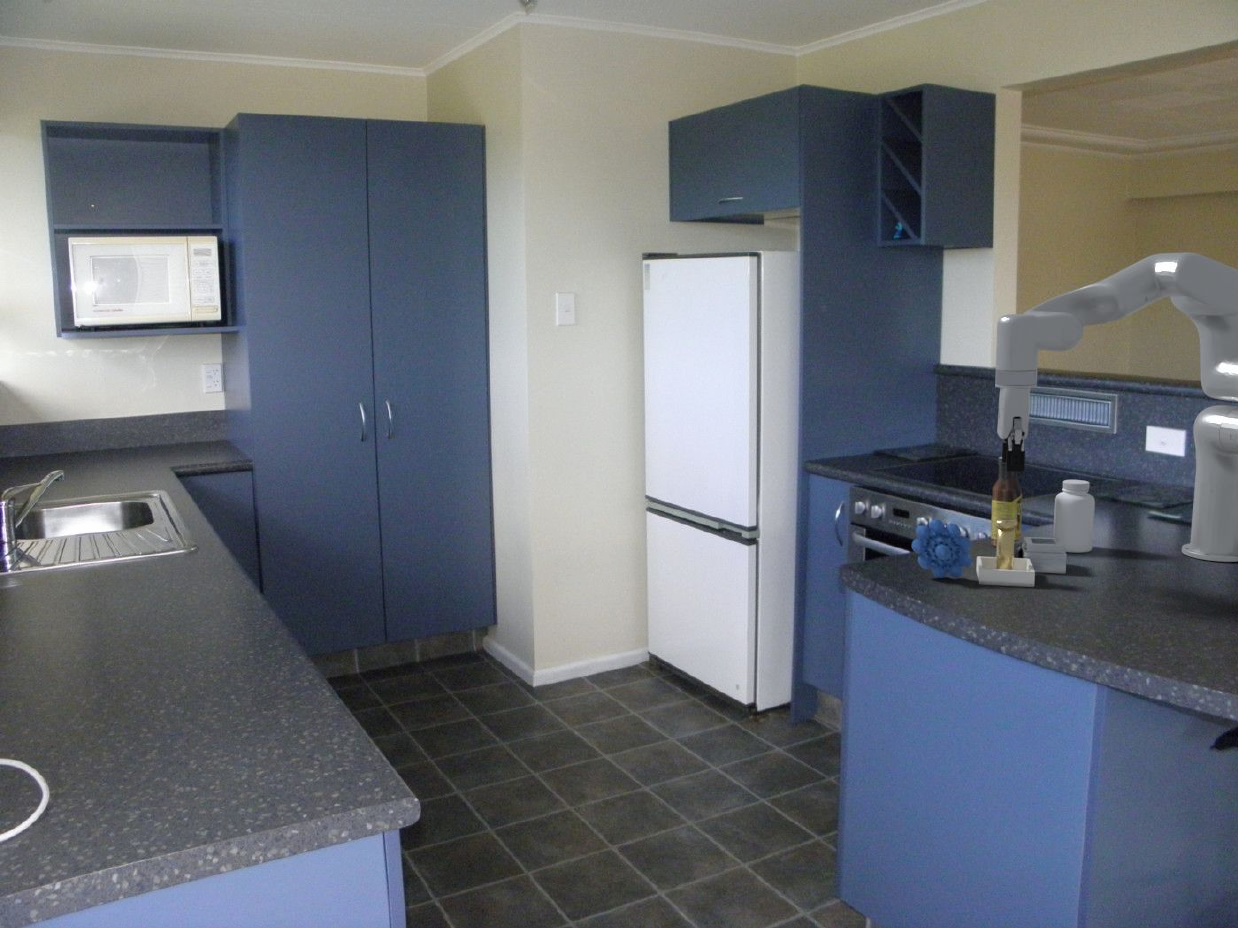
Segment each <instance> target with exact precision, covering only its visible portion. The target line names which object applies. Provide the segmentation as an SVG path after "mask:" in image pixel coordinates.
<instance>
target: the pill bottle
mask: <svg viewBox="0 0 1238 928" xmlns="http://www.w3.org/2000/svg"><path fill="white" fill-rule="evenodd" d="M1089 489H1090V482H1089V481H1086V480H1081V479H1065V480H1063V481H1062V489H1061V490H1062V491H1061V492H1060V493H1058V494H1057V495H1056V496H1055V499H1054V511H1053V512H1054V514H1053V515H1054V516H1053V517H1054V518H1053V532H1052V533H1053V537H1052V538H1059V539H1060V541H1061V543H1062V545H1063V549H1064V550H1065V552H1066V553H1074V554H1075V553H1076V554H1078V553H1079V554H1083V553H1088V552H1091V551H1092V550H1093V544H1094V543H1093V542H1094V524H1095V523H1094V522H1095V509H1096V507H1095V506H1096V501H1095V498H1094V496H1093V495H1092V494H1091V493H1088V492H1089Z"/></svg>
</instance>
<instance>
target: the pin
mask: <svg viewBox="0 0 1238 928" xmlns="http://www.w3.org/2000/svg"><path fill="white" fill-rule="evenodd" d="M995 526H996V527H997V562H996V569H1001V570H1014V536H1015V528H1016V527H1017V520H1016V519H1012V518H998V519H996V520H995Z"/></svg>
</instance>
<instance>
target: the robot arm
mask: <svg viewBox="0 0 1238 928" xmlns="http://www.w3.org/2000/svg"><path fill="white" fill-rule="evenodd" d="M1169 297H1170V301H1171V303H1172V305H1173V306H1174V308H1176V309H1177V310H1178V311H1180V312H1181V313H1183V314H1185V316H1186V317H1188V318H1189V319H1190V320H1191V321H1192V323H1193V324H1194V325H1195V327H1196V329H1197V332H1198V335H1199V355H1200V363H1199V364H1200V365H1199V366H1200V385H1201V388H1202V391H1203V393H1204V394H1205V395H1206V396H1207V397H1209V398H1211V399H1216V400H1220V401H1221V400H1222V401H1227V402H1228V401H1229V402H1237V403H1238V269H1236V268H1234V267H1232V266H1229V265H1226V264H1225V263H1223V262H1220V261H1218V260H1215V259H1213V258H1210V257H1208V256H1205V255H1202V254H1199V253H1196V252H1190V251H1189V252H1188V251H1187V252H1163V253H1155V254H1151V255H1149V256H1147V257H1145V258H1142V259H1140V260H1138V261H1137V262H1135V263H1133V264H1131V265H1129V266H1127V267H1125V268H1123V269H1121V270H1119V271H1118V272H1115V273H1113V274H1112V275H1110V276H1108V277H1106V278H1104V279H1102V280H1100V281H1097V282H1094V283H1090V284H1088V285H1085V286H1082V287H1080V288H1078V289H1074V290H1071V291H1069V292H1066V293H1063V294H1059V295H1056V296H1053V297H1052V298H1050V299H1048V300H1046V301H1043V302H1042V303H1039V304H1038V305H1036V306H1033V307H1032V308H1030V309H1028V310H1026V311H1024V312H1023V313H1022V314H1021V313H1016V314H1015V313H1014V314H1004V315H1001V316H1000V317H999V318H998V319H997V324H996V349H995V351H996V352H995V356H996V357H995V379H994V381H995V382H994V384H995V385H994V387H995V388H998V389H999V388H1000V389H999V398H998V414H997V430H996V432H997V435H998V437H999V438H1000V439H1001V440H1003V442H1002V444H1001V445H1002V446H1001V448H1002V449H1001V457H1002V462H1003V463H1006V470H1007V471H1013V472H1017V473H1018V472H1025V465H1026V464H1025V462H1026V461H1025V459H1026V450H1025V440H1026V439H1027V438H1028V436H1029V435H1028V434H1029V423H1030V422H1029V421H1030V404H1031V402H1030V401H1031V389H1034V388H1037V385H1038V366H1039V365H1038V361H1039V360H1038V359H1039V351H1046V352H1057V353H1062V352H1067V351H1070V350H1073V349H1074V348H1076V347H1077V346H1078V345H1079V344H1080V343H1081V342H1082V340H1083V338H1084V335H1085V327H1087V326H1096V325H1103V324H1109V323H1114V322H1118V321H1120V320H1123V319H1125V318H1128V317H1129V316H1130V315H1132V314H1134V313H1136V312H1138V311H1140V310H1143V308H1145V307H1148V306H1149V305H1152V304H1154V303H1155V302H1158V300H1161V299H1164V298H1169ZM1192 430H1193V432H1192V433H1193V434H1192V435H1193V440H1194V448H1195V459H1196V460H1195V479H1194V491H1193V492H1194V493H1193V507H1192V515H1191V516H1192V519H1191V531H1190V532H1191V533H1190V543H1185V544H1183V545H1182V547H1181V553H1182V554H1184V555H1186V556H1188V557H1190V558H1194V559H1199V560H1205V561H1211V562H1220V563H1221V562H1222V563H1238V406H1234V405H1233V406H1232V405H1223V404H1219V405H1217V404H1216V405H1211V406H1208V407H1207V408H1204V409H1203V410H1202V411H1200V413H1198V414H1197V416H1196V417H1195V420H1194V422H1193V428H1192Z"/></svg>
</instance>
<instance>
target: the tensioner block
mask: <svg viewBox="0 0 1238 928" xmlns="http://www.w3.org/2000/svg"><path fill="white" fill-rule="evenodd" d="M995 557H997V541H996V547H995ZM1014 558H1024V559H1030V561H1031V564H1032V566H1033V569H1034V571H1035V573H1044V574H1045V573H1046V574H1060V575H1062V574H1064V575H1065V574H1067V573H1066V571H1067V552H1065V550H1064V549H1063V545H1062V543H1061V541H1060V539H1059V538H1053V537H1042V536H1041V537H1040V536H1039V537H1037V536H1023V542H1022V541H1021V540H1020V541H1017V540H1014Z"/></svg>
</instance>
